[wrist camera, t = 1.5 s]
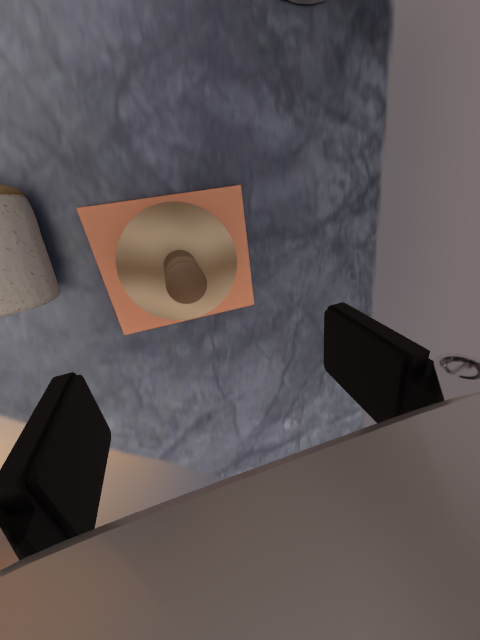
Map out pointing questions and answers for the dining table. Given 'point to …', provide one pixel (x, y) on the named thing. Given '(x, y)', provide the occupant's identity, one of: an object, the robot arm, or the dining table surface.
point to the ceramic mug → (22, 257)
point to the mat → (113, 217)
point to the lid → (176, 260)
